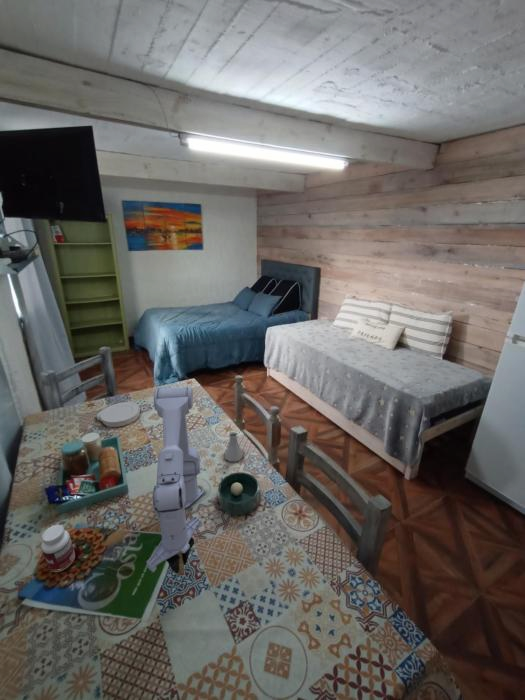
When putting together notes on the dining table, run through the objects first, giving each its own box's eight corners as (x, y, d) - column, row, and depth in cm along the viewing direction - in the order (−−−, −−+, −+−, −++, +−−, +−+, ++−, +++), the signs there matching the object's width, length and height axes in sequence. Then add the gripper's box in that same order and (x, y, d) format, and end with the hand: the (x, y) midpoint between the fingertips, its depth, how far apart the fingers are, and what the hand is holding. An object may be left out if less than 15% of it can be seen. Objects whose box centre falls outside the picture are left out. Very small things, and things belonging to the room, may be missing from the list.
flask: (240, 463, 120) (239, 441, 116) (222, 460, 121) (221, 439, 118) (245, 451, 127) (244, 430, 123) (227, 448, 128) (226, 428, 124)
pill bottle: (45, 563, 84) (34, 533, 80) (70, 546, 89) (61, 517, 85) (53, 578, 81) (43, 548, 76) (79, 560, 85) (70, 531, 81)
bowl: (210, 502, 103) (209, 490, 101) (236, 478, 113) (236, 466, 111) (242, 523, 96) (241, 510, 94) (266, 495, 106) (266, 483, 104)
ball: (230, 489, 107) (226, 488, 104) (238, 480, 108) (235, 479, 104) (237, 498, 106) (234, 498, 102) (246, 489, 106) (243, 489, 103)
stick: (174, 572, 78) (171, 549, 75) (180, 565, 79) (177, 543, 76) (180, 577, 77) (176, 554, 74) (186, 570, 78) (183, 547, 75)
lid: (109, 405, 158) (108, 400, 157) (147, 408, 156) (146, 403, 155) (87, 425, 142) (86, 419, 141) (128, 429, 140) (127, 423, 139)
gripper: (158, 560, 65) (165, 603, 70) (208, 512, 76) (211, 552, 81) (137, 542, 69) (146, 583, 74) (188, 498, 80) (192, 537, 85)
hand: (179, 565), depth 77 cm, fingers closed on stick, 2 cm apart
